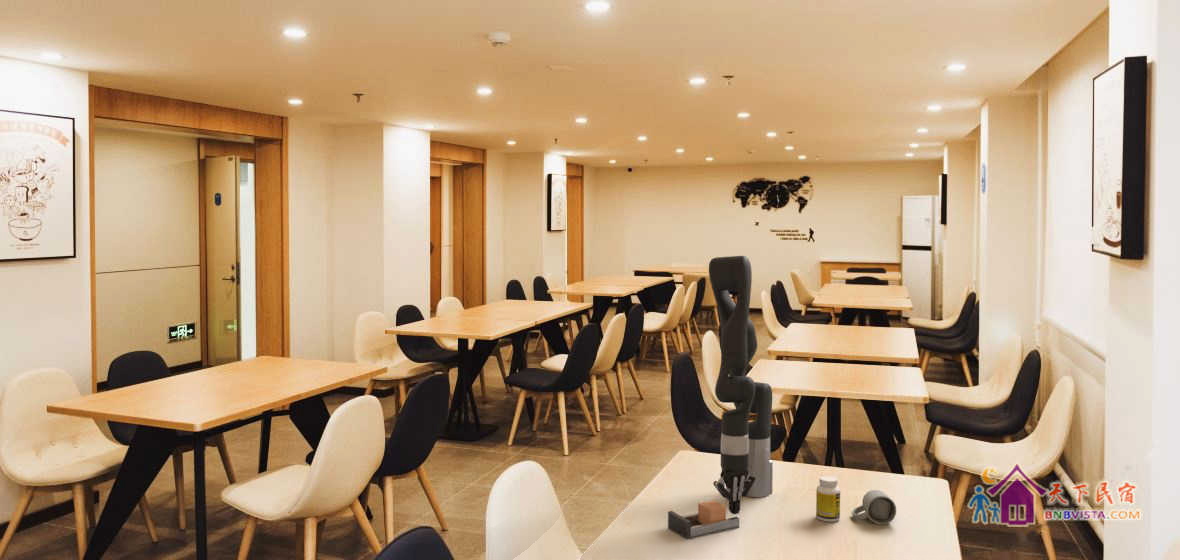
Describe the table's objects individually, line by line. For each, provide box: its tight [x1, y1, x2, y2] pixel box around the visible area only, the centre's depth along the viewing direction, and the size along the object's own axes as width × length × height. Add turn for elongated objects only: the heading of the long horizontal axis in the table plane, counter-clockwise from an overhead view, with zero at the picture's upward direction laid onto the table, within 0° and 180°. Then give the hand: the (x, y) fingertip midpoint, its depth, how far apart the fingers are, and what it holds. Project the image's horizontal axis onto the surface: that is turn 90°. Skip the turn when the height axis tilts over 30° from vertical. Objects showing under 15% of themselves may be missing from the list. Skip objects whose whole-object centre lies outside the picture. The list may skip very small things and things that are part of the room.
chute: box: [667, 510, 740, 540], centre depth 209 cm, size 17×9×4 cm, turn 118°
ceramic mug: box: [851, 489, 897, 526], centre depth 214 cm, size 11×8×8 cm
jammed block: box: [697, 499, 727, 524], centre depth 210 cm, size 5×6×5 cm
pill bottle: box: [815, 475, 841, 523], centre depth 215 cm, size 6×6×11 cm
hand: (734, 512), depth 214 cm, fingers closed
